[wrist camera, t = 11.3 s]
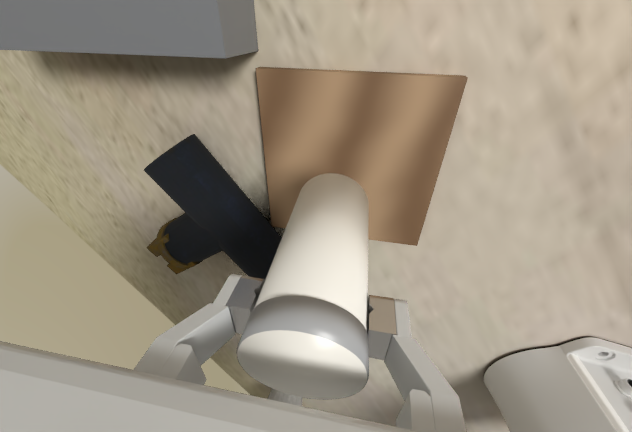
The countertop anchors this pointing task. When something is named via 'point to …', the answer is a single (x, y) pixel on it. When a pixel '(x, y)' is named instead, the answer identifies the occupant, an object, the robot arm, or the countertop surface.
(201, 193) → the pipe connector
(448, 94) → the pad
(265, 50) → the countertop surface
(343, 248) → the plug
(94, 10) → the socket block
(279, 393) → the house plant
